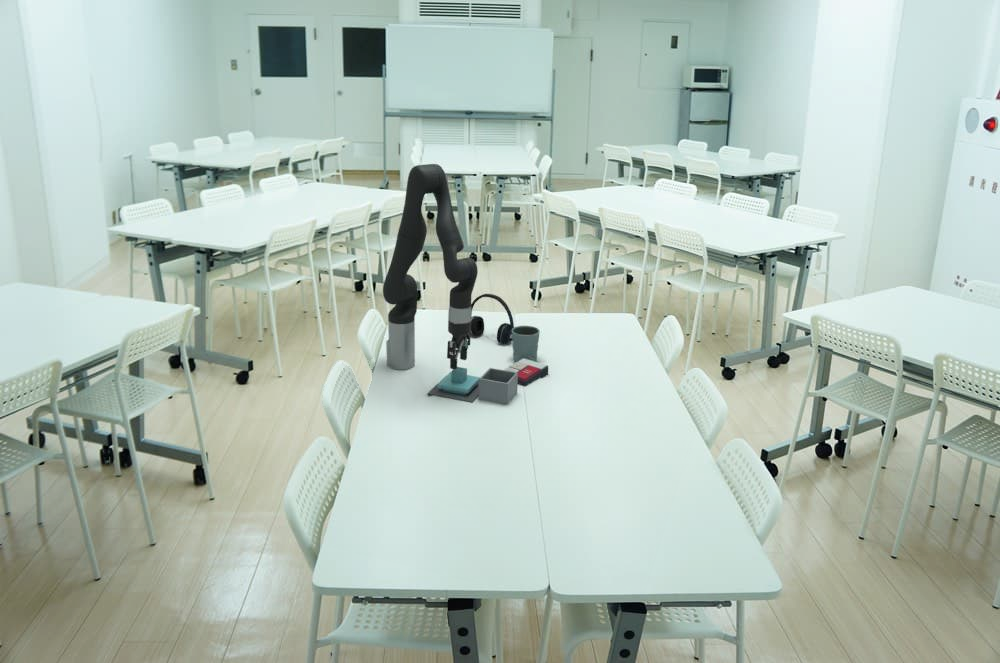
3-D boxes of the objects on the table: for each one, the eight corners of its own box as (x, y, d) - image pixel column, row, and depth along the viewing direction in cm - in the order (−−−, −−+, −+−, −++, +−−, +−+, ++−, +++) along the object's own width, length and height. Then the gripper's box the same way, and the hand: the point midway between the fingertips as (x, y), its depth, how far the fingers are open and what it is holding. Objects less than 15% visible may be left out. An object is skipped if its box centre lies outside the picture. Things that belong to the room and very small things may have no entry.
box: (478, 401, 278) (479, 378, 275) (489, 389, 286) (489, 367, 284) (507, 406, 274) (508, 384, 272) (517, 394, 283) (518, 372, 280)
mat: (427, 396, 280) (427, 393, 280) (446, 378, 294) (446, 375, 294) (472, 404, 275) (472, 401, 275) (489, 385, 289) (489, 383, 289)
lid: (437, 391, 281) (437, 373, 279) (450, 379, 291) (450, 361, 288) (468, 397, 278) (468, 378, 275) (480, 384, 288) (480, 366, 285)
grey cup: (543, 362, 310) (545, 332, 306) (521, 368, 305) (522, 337, 300) (527, 353, 318) (528, 323, 313) (505, 358, 312) (506, 328, 308)
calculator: (498, 371, 293) (523, 356, 304) (498, 382, 295) (522, 367, 306) (525, 379, 287) (548, 363, 298) (525, 390, 289) (548, 374, 300)
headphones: (463, 336, 332) (464, 292, 326) (474, 331, 338) (475, 287, 331) (506, 347, 322) (508, 302, 316) (516, 342, 328) (518, 297, 321)
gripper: (457, 309, 283) (456, 354, 289) (440, 323, 270) (439, 370, 276) (478, 313, 281) (476, 358, 286) (462, 327, 268) (460, 374, 274)
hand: (458, 364), depth 281 cm, fingers open, 8 cm apart
